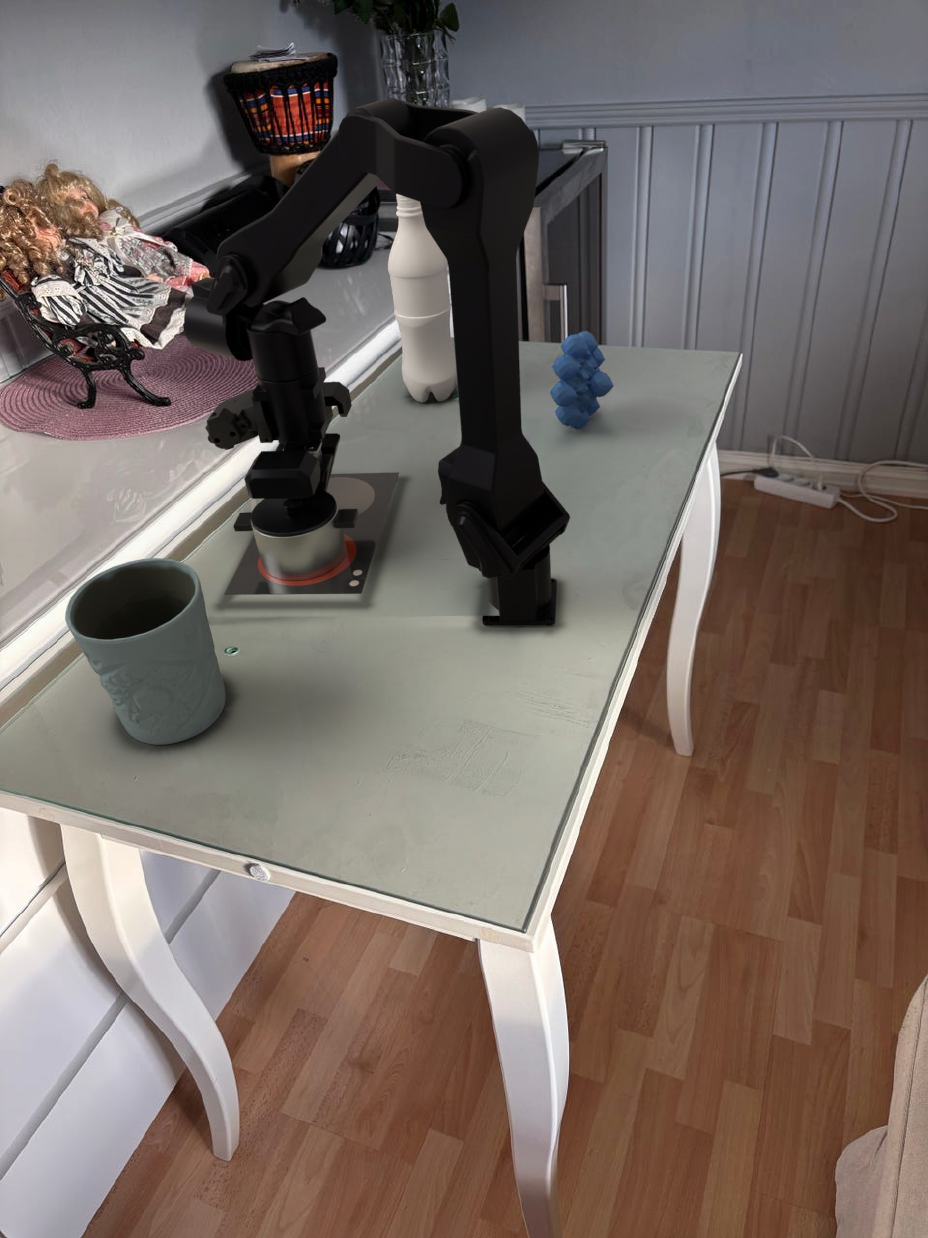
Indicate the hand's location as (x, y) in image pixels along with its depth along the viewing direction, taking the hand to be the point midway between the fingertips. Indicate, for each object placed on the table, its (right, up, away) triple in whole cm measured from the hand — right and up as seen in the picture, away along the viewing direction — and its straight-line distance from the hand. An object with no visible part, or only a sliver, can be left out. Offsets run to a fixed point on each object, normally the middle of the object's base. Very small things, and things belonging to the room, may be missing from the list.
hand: (317, 509), depth 95 cm
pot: (-1, -5, -4) cm, 7 cm away
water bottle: (+11, +18, +25) cm, 33 cm away
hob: (0, -3, 0) cm, 3 cm away
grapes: (+30, +11, +14) cm, 35 cm away
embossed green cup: (-9, -19, -18) cm, 28 cm away
